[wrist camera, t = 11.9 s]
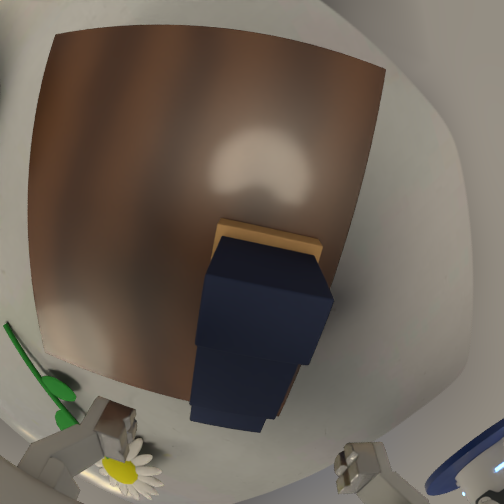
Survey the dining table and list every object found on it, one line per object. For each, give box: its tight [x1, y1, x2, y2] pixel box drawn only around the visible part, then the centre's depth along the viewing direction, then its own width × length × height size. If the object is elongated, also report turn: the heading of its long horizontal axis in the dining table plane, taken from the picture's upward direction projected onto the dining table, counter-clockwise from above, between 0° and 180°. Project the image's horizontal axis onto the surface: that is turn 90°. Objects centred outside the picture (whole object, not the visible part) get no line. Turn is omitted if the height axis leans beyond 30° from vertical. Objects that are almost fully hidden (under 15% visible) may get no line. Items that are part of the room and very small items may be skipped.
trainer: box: [189, 218, 334, 433], centre depth 14 cm, size 12×5×6 cm, turn 168°
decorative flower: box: [3, 323, 164, 500], centre depth 28 cm, size 13×5×30 cm
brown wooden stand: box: [28, 25, 386, 416], centre depth 18 cm, size 19×23×6 cm
